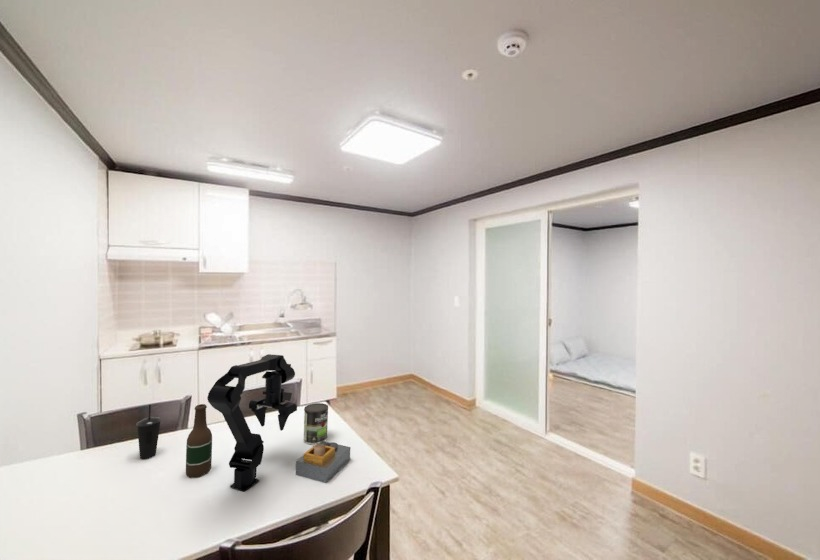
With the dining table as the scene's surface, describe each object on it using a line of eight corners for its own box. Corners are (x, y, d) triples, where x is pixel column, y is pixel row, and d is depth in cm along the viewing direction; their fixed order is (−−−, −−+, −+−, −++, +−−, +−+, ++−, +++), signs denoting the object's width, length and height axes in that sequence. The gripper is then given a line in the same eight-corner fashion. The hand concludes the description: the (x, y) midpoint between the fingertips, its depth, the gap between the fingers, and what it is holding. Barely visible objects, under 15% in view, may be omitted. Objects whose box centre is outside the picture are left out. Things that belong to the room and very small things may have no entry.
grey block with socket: (325, 483, 111) (326, 461, 111) (295, 474, 116) (296, 453, 116) (350, 459, 126) (350, 440, 126) (322, 453, 131) (322, 434, 131)
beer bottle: (198, 480, 112) (200, 410, 112) (179, 476, 113) (182, 408, 113) (216, 467, 119) (218, 402, 120) (198, 464, 121) (200, 400, 121)
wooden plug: (320, 475, 116) (321, 450, 116) (311, 473, 117) (311, 448, 117) (326, 469, 119) (327, 445, 120) (317, 467, 121) (318, 443, 121)
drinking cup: (165, 451, 129) (167, 401, 130) (148, 462, 122) (149, 409, 122) (147, 450, 130) (149, 400, 130) (129, 460, 122) (131, 408, 123)
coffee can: (332, 438, 144) (333, 406, 144) (312, 447, 136) (313, 413, 136) (317, 431, 150) (318, 401, 150) (298, 439, 142) (299, 407, 142)
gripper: (306, 384, 128) (305, 423, 128) (270, 378, 135) (269, 416, 135) (287, 393, 118) (286, 436, 118) (248, 386, 124) (247, 427, 124)
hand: (272, 428), depth 124 cm, fingers open, 9 cm apart
